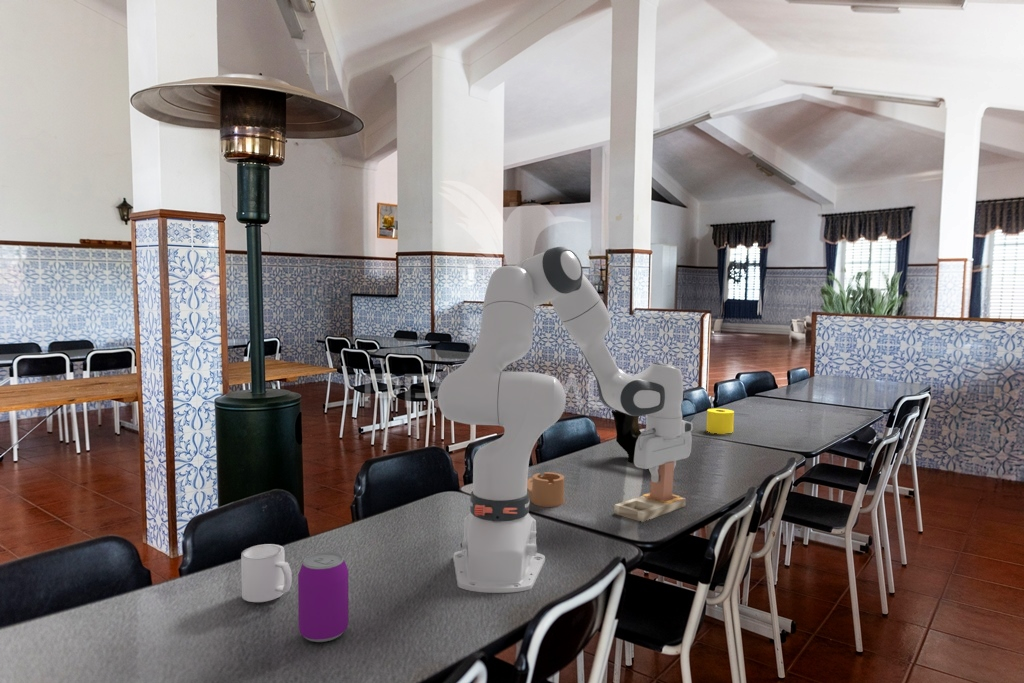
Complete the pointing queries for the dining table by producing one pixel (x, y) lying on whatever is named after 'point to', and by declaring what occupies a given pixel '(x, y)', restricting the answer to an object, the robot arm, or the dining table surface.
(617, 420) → the pottery vessel
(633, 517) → the peg board
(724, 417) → the tape roll
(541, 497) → the bracket
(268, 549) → the mug
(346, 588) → the beverage can
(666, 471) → the terracotta peg
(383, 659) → the dining table surface
